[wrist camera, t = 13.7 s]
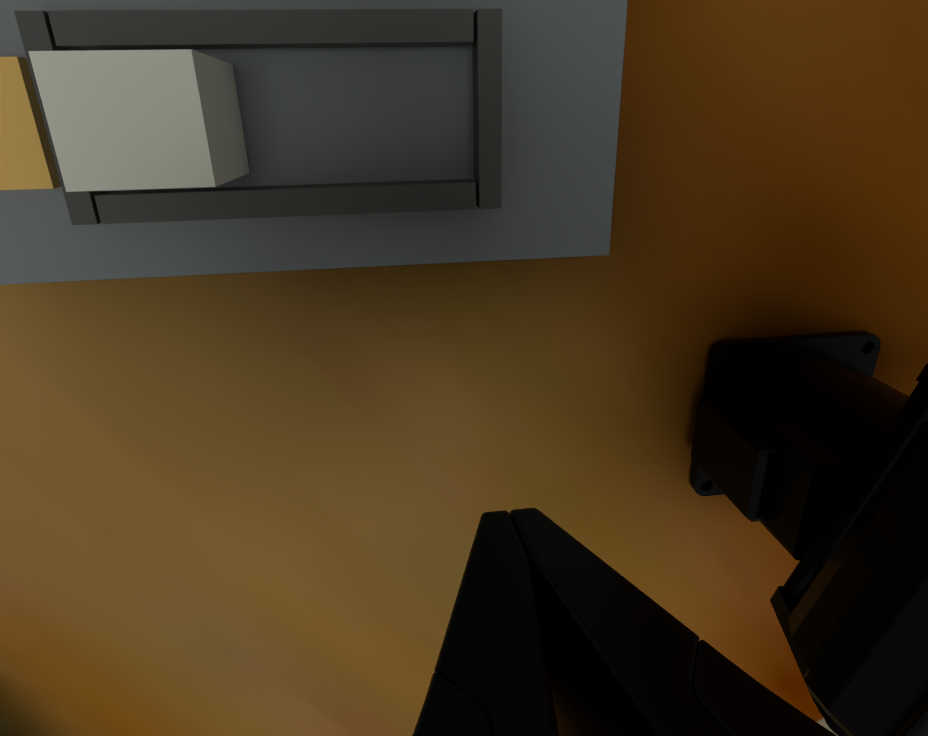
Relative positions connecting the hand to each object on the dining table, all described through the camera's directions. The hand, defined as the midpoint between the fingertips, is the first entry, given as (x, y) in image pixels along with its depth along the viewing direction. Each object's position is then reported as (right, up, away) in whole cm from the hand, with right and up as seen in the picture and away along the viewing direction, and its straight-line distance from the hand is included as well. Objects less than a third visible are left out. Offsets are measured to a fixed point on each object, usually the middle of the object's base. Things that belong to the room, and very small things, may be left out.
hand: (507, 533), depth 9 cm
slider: (-8, +9, +6) cm, 13 cm away
